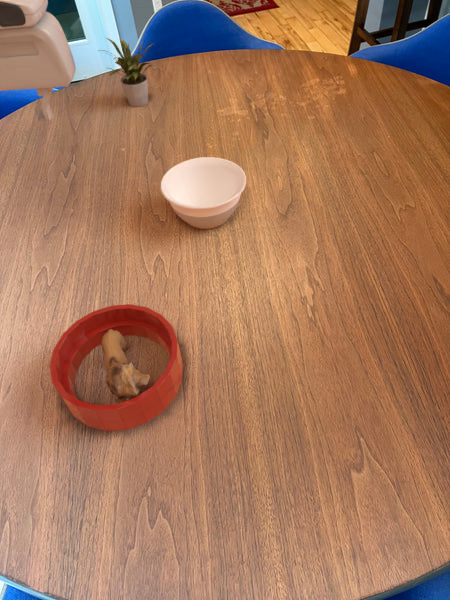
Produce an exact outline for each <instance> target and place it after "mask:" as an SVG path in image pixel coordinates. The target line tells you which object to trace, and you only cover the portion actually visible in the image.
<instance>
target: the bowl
mask: <svg viewBox="0 0 450 600" xmlns="http://www.w3.org/2000/svg"><path fill="white" fill-rule="evenodd" d="M246 185H247V176H246V173H245V171H244V170H243V169H242V167H241V166H240V165H239V164H237V163H235V162H233V161H231V160H230V159H229V160H228V159H226V158H221V157H214V156H213V157H212V156H202V157H195V158H191V159H187V160H184V161H182V162H179V163H177V164H176V165H174V166H172V167H171V168H170V169H168V170H167V171H166V172H165V174H164V175H163V177H162V178H161V181H160V192H161V194H162V196H163V197H164V198H165V199H166V200H167V201H168V202H169V203H170V207H171V208H172V210H173V212H174V213H175V214H176V215H177V216H178V217H179V218H180V219H181V220H182V221H184V222H185V223H187V224H188V225H189V226H191V227H193V228H196V229H200V230H208V229H214V228H218V227H219V226H222V225H223V224H225V223H226V222H227V221H228V220H229V218H230V217H231V216H232V215H233V214H234V213H235V211H236V209H237V207H238V206H239V203H240V198H241V195H242V193H243V191H244V190H245V188H246Z"/></svg>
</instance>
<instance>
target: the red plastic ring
mask: <svg viewBox="0 0 450 600" xmlns="http://www.w3.org/2000/svg"><path fill="white" fill-rule="evenodd" d="M110 329H112V330H113V331H119V332H120V334H121V335H122V336H123V337H129V336H137V337H141V338H146V339H149V340H152V341H153V342H154V343H157V344H158V345H160V346H161V347H162V348H163V350H165V352H166V353H167V355H168V362H167V363H168V364H167V365H166V368H165V370H164V371H163V373H162V374H161V376H159V378H158V379H157V380H156V381H155V382H154V384H153V385H152V386H151V387H149V388H148V389H146V390H145V391H143V392H141V393H139V394H138V395H137V396H136V397H133V398H129V399H127V400H125V401H124V402H121V403H118V402H117V403H108V404H93V403H90V402H86V401H82V400H80V399H78V398H77V394H76V389H75V381H76V375H77V372H78V370H79V368H80V367H81V365H82V362H83V361H84V359H85V358H86V357H87V356H88V355H90V353H91V352H92V351H94V349H96V348H98V347H99V346H102V338H103V336H104V334H105V333H107V332H108V330H110ZM49 370H50V379H51V383H52V385H53V386H54V388H55V389H56V391H57V393H58V394H59V396H60V397H61V399H62V401H63V402H64V403H65V405H66V407H67V408H68V410H69V412H70V413H71V414H72V416H73V417H74V418H75V419H77V420H78V421H79V422H81V423H82V424H84V425H86V426H87V427H89V428H93V429H97V430H101V431H105V432H112V431H126V430H130V429H133V428H135V427H138V426H141V425H144V424H147V423H148V422H150V421H151V420H153V419H155V417H157V416H158V415H159V414H161V413H162V412H164V411H165V410H166V409H167V407H169V406H170V404H171V403H172V401H173V400H174V399H175V398H176V396H177V394H178V391H179V390H180V386H181V384H182V381H183V376H184V375H183V373H184V372H183V371H184V361H183V358H182V354H181V349H180V345H179V341H178V338H177V335H176V333H175V330H174V327H173V325H172V324H171V323H170V322H169V321H168V320H167V319H166V318H165V317H164V316H163V314H161V313H159V312H157V311H155V310H154V309H151V308H150V307H147V306H143V305H137V304H132V303H129V304H116V305H114V304H113V305H109V306H106V307H102V308H99V309H96V310H93V311H91V312H89V313H88V314H86V315H84V316H83V317H81V318H79V319H78V320H76V321H75V322H74V323H73V324H71V326H70V327H68V328H67V329H66V330H65V331H64V332H63V333H62V334H61V336H60V338H59V339H58V341H57V343H56V344H55V346H54V348H53V349H52V354H51V358H50V362H49Z"/></svg>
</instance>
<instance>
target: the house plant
mask: <svg viewBox="0 0 450 600" xmlns="http://www.w3.org/2000/svg"><path fill="white" fill-rule="evenodd" d="M105 39H106V40H108V41H109V42H110V43H111V44H112V45H113V47H114V49H115V50H116V52H117V53H118V55H119V57H118V56H117V55H114V54H113V53H112V52H109V51H108V50H101V49H100V50H98V52H106V54H107V55H109V56H111V57H112V58H113V60H115V61H114V63H115V64H116V65H118V66H120V67H121V69H122V70H121V69H113V68H112V67H107V70H108V69H109V70H111V71H110V73H109V76H108V77H109V79H110V77H112V76H113V75H114V74H116V73H117V74H119V75H121V76H122V77H121V78H120V80H119V81H120V84H121V86H122V90H123V91H124V94H125V97H126V100H127V101H128V103H129V104H128V105H129V106H131V107H132V108H139V107H144V106H146V105H147V104H148V103H149V80H148V79H149V77H148V75H146V73H145V72H146V70H147V69H148V68H150V67H155V65H154V64H151V63H150V62H141V60H142V58H143V56H144V55H145V53H147V51H148V49H149V48H150V47H151V46H153V45H154V43H151V44H150V45H148V46H146V48H145V50H144V51H143V53H142V54H141V51H142V45H143V41H144V40H143V39H142V41H141V43H140V45H139V49H138V53H136V54H134V55H133V56H132V53H131V48H130V43H127V42H126V41H125V40H124V39H122V38H121V37H119V42H120V46H121V49H120V47H119V46H118V45H117V43H116V42H115V41H113V40H112V39H110V38H108V37H105ZM114 56H115V57H114ZM140 63H141V64H140ZM146 65H148V66H146ZM145 66H146V67H145ZM144 67H145V69H143V68H144ZM142 70H143V72H142V73H141V71H142ZM120 72H122V73H123V74H121V73H120Z"/></svg>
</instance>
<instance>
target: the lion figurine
mask: <svg viewBox="0 0 450 600" xmlns="http://www.w3.org/2000/svg"><path fill="white" fill-rule="evenodd" d="M101 349H102V351H103V354H104V365H105V370H106V376H105V378H106V379H105V382H106V385H107V388H108V389H109V391H110V393H111V394H112V395H114V396H116V403H117V404H118V403H121V402H124V401H126V398H127V399H132V398H135V397H137V396H139V394H141V393H142V389H143V388H145V387H147V385H148V384H149V381H150V378H151V375H150V374H145V373H141V371H140V370H139V369H136V367H135V366H134V365H133V362H130V363H129V361H128V358H127V356H126V354H125V352H126V351H128V350H129V345H128V344H127V341H126V339H125V336H122V335H121V334H120V332H119V331H113V330H112V329H110V330H108V332H107V333H105V334H104V336H103V338H102V344H101Z"/></svg>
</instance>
